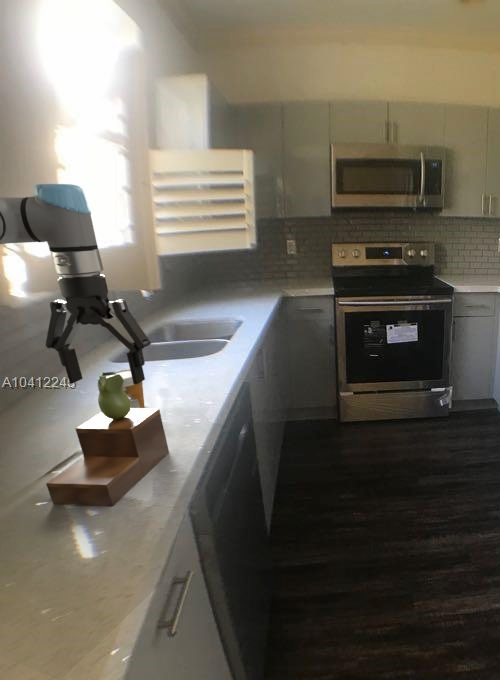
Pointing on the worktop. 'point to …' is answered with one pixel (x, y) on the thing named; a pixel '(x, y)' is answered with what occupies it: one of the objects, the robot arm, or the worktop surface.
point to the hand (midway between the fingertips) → (107, 381)
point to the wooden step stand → (111, 458)
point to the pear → (113, 396)
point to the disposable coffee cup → (132, 386)
